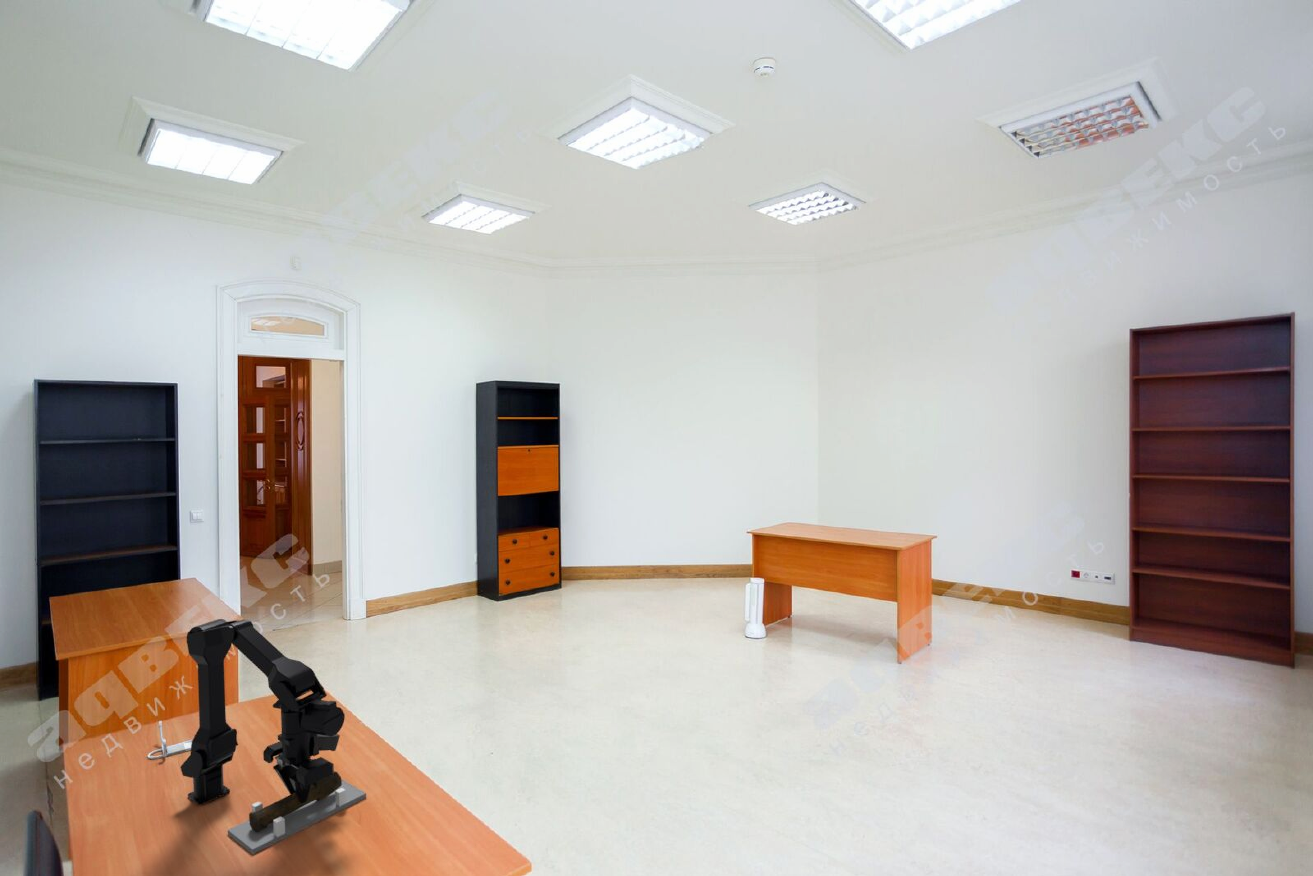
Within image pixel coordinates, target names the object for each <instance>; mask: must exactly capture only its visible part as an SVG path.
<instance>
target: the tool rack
mask: <svg viewBox="0 0 1313 876" xmlns="http://www.w3.org/2000/svg"><path fill="white" fill-rule="evenodd" d="M341 780H342V785H341V786H340V787H339V788H338V789H337V790H335V791H334V792H333V793H331V794H330V795H329V796H327V797H326V798H324V799H322V800H320V801H317V800H314V801H312V802H310V803H308V804H306V805H304V806H302V807H301V808H299V809H297V810H295V811H293V812H292V813H289V814H287V815H285V816H283V817H279V818H277V819H275V820H273V822H272V823H270V824H269V825H267V827H266V828H261V829H260V831H259V832H254V831H253V830H252V828H251V826H250V821H249V819H248V820H246V821H244V822H241V823H239V824H237V825H234V826H233V827H230V828H229V829H227V835H228V836H229V837H230V838H232V839H233V840H234V841H235V842H237V843H238V844H239V845H241V846H242V847H243V849H245V850H247V851H248V852H249V853H250V854H251V855H255V854H257V853H258V852H260V851H263V850H265V849H267V848H268V847H270V846H272V845H274V844H276V843H279V842H280V841H282V840H284V839H286V838H288V837H291V836H292V835H295V834H297V833H299V832H300V831H302V830H304V829H306V828H309V827H310V826H312V825H315V824H317V823H318V822H321V821H322V820H324V819H326V818H328V817H330V816H332V815H334V814H336V813H338V812H341V811H343V810H344V809H346V808H348V807H350V806H353V805H354V804H356V803H358V802H360V801H362V800H364V799H366V798H367V793H366V792H365V791H363V790H361V789H359V788H358V787H357V786H354V785H352V784H351V783H349V782H347V781H346V780H344V779H342V778H341ZM262 808H264V807H263V802H261V801H260V800H259V801H257V802H254V803H252V804H251V812H256V811H259V810H261V809H262Z"/></svg>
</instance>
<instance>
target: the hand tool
mask: <svg viewBox="0 0 1313 876" xmlns="http://www.w3.org/2000/svg"><path fill="white" fill-rule="evenodd" d="M341 779H342V777H341V775H340V774H339V772H338V771H335V770H334V773H333V775H330V776H328V777H326V778H324V779H321V780H319V781H317V782H315V783H313V784H312V785H311V788H310V791H309V794H308V797H307V800H306V802H304V803H300V801H299V799H298V797H297V794H296V792H295V793H293V794H291V795H290V794H289V795H287V796H285V797H284V798H281V799H279V800H278V801H274V802H273V803H271V804H268V805H267V806H265V807H263V808H262V809H261V810H259V811H256V812H252V811H251V812H249V813H248V820H249V821H250V826H251V828H252V830H253V831H254V832H259V831H260V829H261V828H266V827H267V825H269V824H270V823H272V822H273V820H275V819H277V818H279V817H283V816H285V815H287V814H289V813H292V812H293V811H295V810H297V809H299V808H301V807H302V806H304V805H306V804H308V803H310V802H312V801H314V800H317V801H320V800H322V799H324V798H326V797H327V796H329V795H330V794H331V793H333V792H334V791H335V790H337V789H338V788H339V787H340V786H341V785H342V780H343V779H342V780H341Z"/></svg>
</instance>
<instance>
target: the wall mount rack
mask: <svg viewBox="0 0 1313 876" xmlns="http://www.w3.org/2000/svg"><path fill="white" fill-rule="evenodd" d="M157 724H158V725H157V726H158V728H159V735H160V743H161V748H159V749H158V748H157V749H156V750H153V751H151V752H150V753H148V754H147V759H151V760H154V759H160V758H166V757H171V756H170V755H172V756H174V755H175V756H176V755H179V754H183V753H186V752H189V751H190V752H191V744H192V740H193V739H190V740H186V741H183V742H179V743H176V744H172V745H168V746H167V740H166V739H165V738H164V733H163V721H162V720H159V721H158V723H157ZM161 751H162V754H160V755H156V756H155V755H154V756H153V754H155V753H159V752H161ZM185 751H186V752H185ZM182 752H183V753H182Z"/></svg>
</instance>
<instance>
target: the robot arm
mask: <svg viewBox="0 0 1313 876" xmlns="http://www.w3.org/2000/svg"><path fill="white" fill-rule="evenodd" d="M232 645H233V646H234V647H235V648H236V649H237V650H238V651H239V652H240V653H241V654H242V655H244V656H245V658H247V659H248V660H249V662H251V663H252V664H254V666H255V667H256V668H258V669H259V671H261V673H263V674H264V675H265V677H266V678H267V684H268V685H267V686H268V688H269V690H270V691H271V693H273V695H274V696H275V697H276V698H277V700H276V702H274V703H273V704H272V708H274V709H279V710H280V719H281V721H280V723H281V733H280V734H277V740H278V742H275V743H272V744H269V745H267V746H266V748H265V749H264V750H263V753H262V755H263V761H264V762H266V763H268V764H272V763H273V762H274V759H275V760H276V764H275V765H273V766H272V769H273V770H274V771H275V772H276V774H277V776H278V778H280V780H281V782H282V784H283V785H284V786H285V788H286V789H287V791H288V793H289V795H291V794H293V793H295V792H296V794H297V797H298V799H299V801H300V803H304V802H306V800H307V797H308V794H309V791H310V788H311V785H312V784H313V783H315V782H317V781H319V780H321V779H324V778H326V777H328V776H330V775H333V773H334V771H335V769H334V768H335V766H334V763H332V762H330V761H329V760H327V759H326V758H324V757H322V756H320V757H318V758H311V757H316V756H318V755H320V752H322V751H323V752H324V751H331V752H335V751H336V750H337V748H338V744H339V740H340V736H341V735H340V734H338V733H339V732H340V730H341V729H342V727H343V726H344V723H345V717H346V716H345V713H344V710H343V709H342V708H341V707H339V706H337V705H338V704H337V703H338V702H337V701H334V700H323V699H324V698H326V697H327V695H328V694H327V693H326V691H325V688H324V686H323V685H322V684H321V683H320V681H319V679H318V678H317V676H316V673H315V671H314V670H313V669H312V668H311V667H310V666H308V665H306V664H305V663H303V662H302V661H300V660H296V659H291V658H289V657H287V656H286V655H284V654H283V653H282V652H281V651H280V650H279V649H277V647H276V646H275V645H273V644H272V643H271V642H270V641H269V640H268V639H267V638H266V637H264V635H262V633H260V632H259V631H258V630H257V629H256V627H254V624H253V622H252V621H251V620H249V619H244V618H243V619H239V620H238V619H236V620H229V621H227V620H225V619H223V618H218V619H215V620H214V619H213V620H211V621H208V622H206V623H205V622H204V623H202V624H199V625H196V626H193V627H192V628H190V630H189V631H188V632H187V634H186V646H187V650H188V655H189V656H190V657H191V658H192V660H193V661H194V662H195V663H196V664H197V683H198V684H197V686H198V717H199V719H198V720H199V722H198V724H199V727H198V729H197V731H196V733H195V735H194V737H193V738H192V739H191V740H192V744H191V750H190V754H189V756H188V757H187V758H186V759H185V761H184V762H183V763H181V765H180V766H179V767H180V772H181V774H182V777H186V778H187V777H188V778H191V779H192V783H193V787H192V788H193V789H192V790H193V791H191V792H189V793H187V798H189V799H190V800H191V801H192V802H194V803H195V804H196V805H197V806H201V805H204V804H206V803H208V802H210V801H212V800H215V799H218V798H220V797H222V796H225V795H228V794H229V793H230V792H231V790H230V789H229V788H228V787H227V786H226V785H224V784H225V783H224V765H225V764H227V763H229V762H232V760H233V757H234V753H235V752H236V750H237V747H238V746H239V743H238V739H237V738H238V731H237V729H236V728H232V727H231V726H230V725H229V724H228V722H227V719H226V718H227V716H226V715H227V714H226V713H227V712H226V688H225V687H226V686H225V685H226V684H225V683H226V682H225V678H226V677H225V658H226V657H227V655H228V653H229V651H230V649H231V648H232ZM310 692H312V693H310ZM309 693H310V694H309ZM306 694H308V695H306ZM304 695H306V696H304ZM302 696H304V697H302ZM300 697H302V698H300Z"/></svg>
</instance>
